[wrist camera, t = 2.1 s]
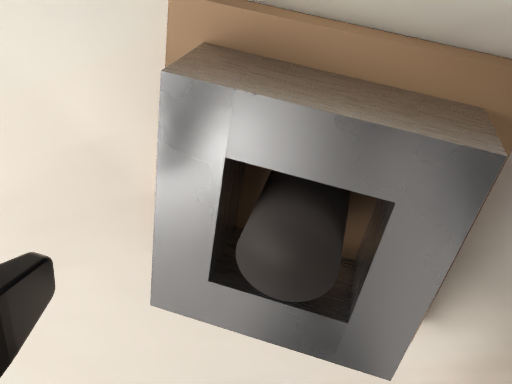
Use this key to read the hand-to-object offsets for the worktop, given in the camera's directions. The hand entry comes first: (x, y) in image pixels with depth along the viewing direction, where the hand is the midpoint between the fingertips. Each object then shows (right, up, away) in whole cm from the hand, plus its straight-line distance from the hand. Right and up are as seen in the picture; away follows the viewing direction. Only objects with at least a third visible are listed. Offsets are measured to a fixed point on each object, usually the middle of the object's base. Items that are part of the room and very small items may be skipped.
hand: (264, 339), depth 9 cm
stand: (+2, +3, +5) cm, 6 cm away
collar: (+1, +3, +4) cm, 5 cm away
